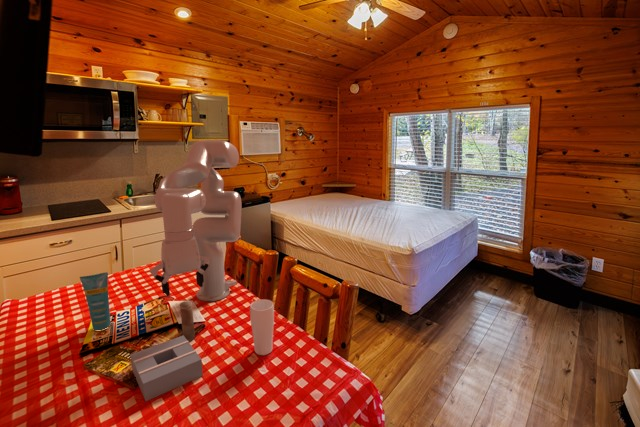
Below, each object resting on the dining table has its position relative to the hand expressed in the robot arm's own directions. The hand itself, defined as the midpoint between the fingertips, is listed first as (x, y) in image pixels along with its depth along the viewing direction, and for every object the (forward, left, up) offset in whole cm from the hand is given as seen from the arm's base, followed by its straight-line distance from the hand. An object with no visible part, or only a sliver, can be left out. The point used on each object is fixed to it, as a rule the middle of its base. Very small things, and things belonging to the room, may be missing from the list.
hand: (184, 289), depth 102 cm
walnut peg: (0, 0, -17) cm, 17 cm away
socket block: (+10, +12, -17) cm, 23 cm away
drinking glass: (-15, +20, -17) cm, 30 cm away
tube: (+20, -24, -17) cm, 36 cm away
